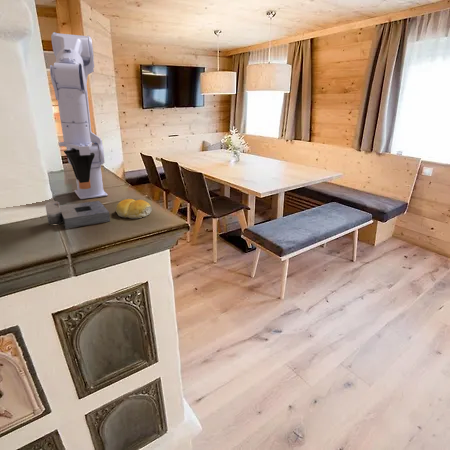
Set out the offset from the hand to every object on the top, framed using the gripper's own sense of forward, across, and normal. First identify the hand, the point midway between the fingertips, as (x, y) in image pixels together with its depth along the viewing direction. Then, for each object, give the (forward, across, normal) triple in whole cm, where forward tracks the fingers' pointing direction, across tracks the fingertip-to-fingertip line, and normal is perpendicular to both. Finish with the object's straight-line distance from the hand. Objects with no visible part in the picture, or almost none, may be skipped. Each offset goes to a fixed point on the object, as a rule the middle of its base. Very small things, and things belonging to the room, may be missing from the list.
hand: (82, 180), depth 75 cm
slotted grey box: (+10, 0, -2) cm, 10 cm away
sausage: (+2, 0, 0) cm, 2 cm away
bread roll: (+10, +3, +11) cm, 15 cm away
